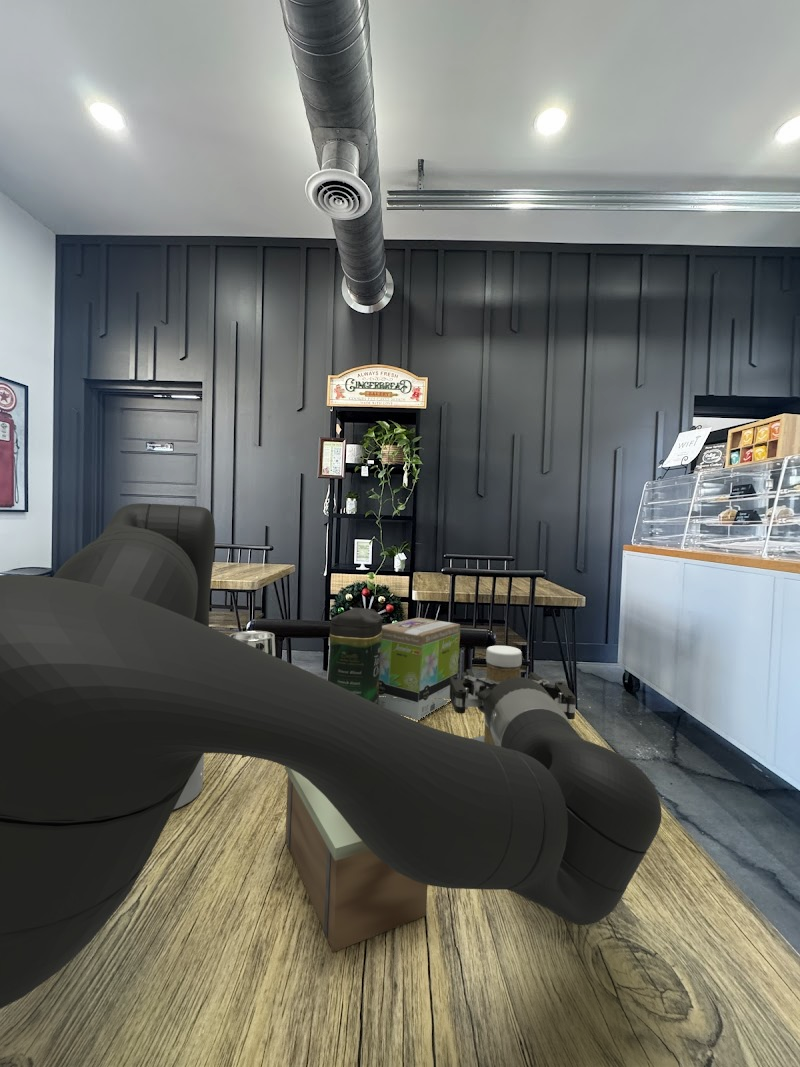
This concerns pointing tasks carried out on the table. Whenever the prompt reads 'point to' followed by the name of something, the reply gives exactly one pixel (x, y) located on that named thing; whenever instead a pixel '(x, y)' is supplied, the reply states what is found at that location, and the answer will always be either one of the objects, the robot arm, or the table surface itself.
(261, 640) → the beer glass
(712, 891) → the table surface
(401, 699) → the tea box
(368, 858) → the toolbox
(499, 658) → the sprinkles bottle
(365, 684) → the coffee jar
